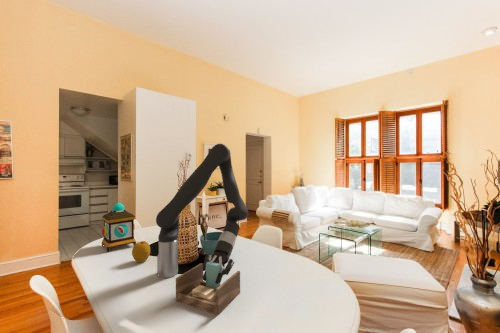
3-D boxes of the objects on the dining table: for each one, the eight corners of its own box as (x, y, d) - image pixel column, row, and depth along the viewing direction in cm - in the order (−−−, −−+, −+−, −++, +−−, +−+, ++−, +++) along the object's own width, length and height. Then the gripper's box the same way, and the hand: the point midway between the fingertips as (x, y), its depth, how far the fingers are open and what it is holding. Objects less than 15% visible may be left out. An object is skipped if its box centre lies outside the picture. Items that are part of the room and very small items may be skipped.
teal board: (206, 292, 98) (205, 263, 98) (209, 289, 100) (209, 261, 100) (217, 295, 95) (216, 265, 95) (220, 292, 97) (219, 263, 97)
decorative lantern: (130, 240, 176) (129, 200, 176) (138, 246, 161) (138, 202, 161) (99, 246, 162) (98, 203, 162) (105, 253, 148) (104, 206, 148)
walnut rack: (175, 305, 92) (175, 278, 92) (201, 286, 106) (201, 263, 106) (218, 319, 83) (218, 289, 83) (240, 296, 97) (240, 271, 97)
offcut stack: (190, 302, 91) (190, 290, 91) (199, 295, 96) (199, 284, 96) (209, 308, 87) (208, 296, 87) (217, 300, 92) (217, 289, 92)
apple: (137, 266, 128) (136, 245, 128) (128, 262, 134) (128, 241, 134) (153, 260, 136) (153, 240, 136) (145, 257, 142) (144, 237, 142)
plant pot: (217, 264, 130) (217, 242, 130) (193, 258, 139) (193, 237, 140) (236, 254, 145) (236, 234, 145) (213, 248, 155) (213, 230, 155)
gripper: (209, 237, 107) (192, 274, 96) (236, 241, 101) (221, 282, 90) (215, 245, 112) (200, 281, 101) (242, 250, 106) (229, 289, 95)
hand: (210, 281), depth 96 cm, fingers closed on teal board, 5 cm apart
